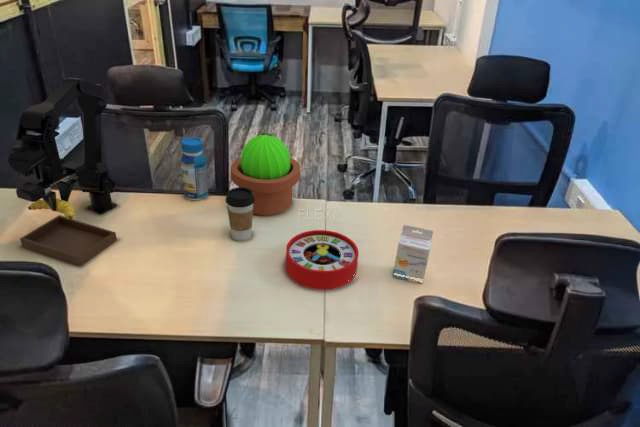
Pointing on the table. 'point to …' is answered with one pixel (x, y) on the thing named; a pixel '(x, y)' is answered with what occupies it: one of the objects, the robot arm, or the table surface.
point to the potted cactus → (266, 174)
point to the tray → (69, 240)
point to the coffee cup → (240, 212)
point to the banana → (61, 207)
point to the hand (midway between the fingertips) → (59, 207)
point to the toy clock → (321, 259)
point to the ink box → (413, 253)
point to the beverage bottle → (194, 169)
